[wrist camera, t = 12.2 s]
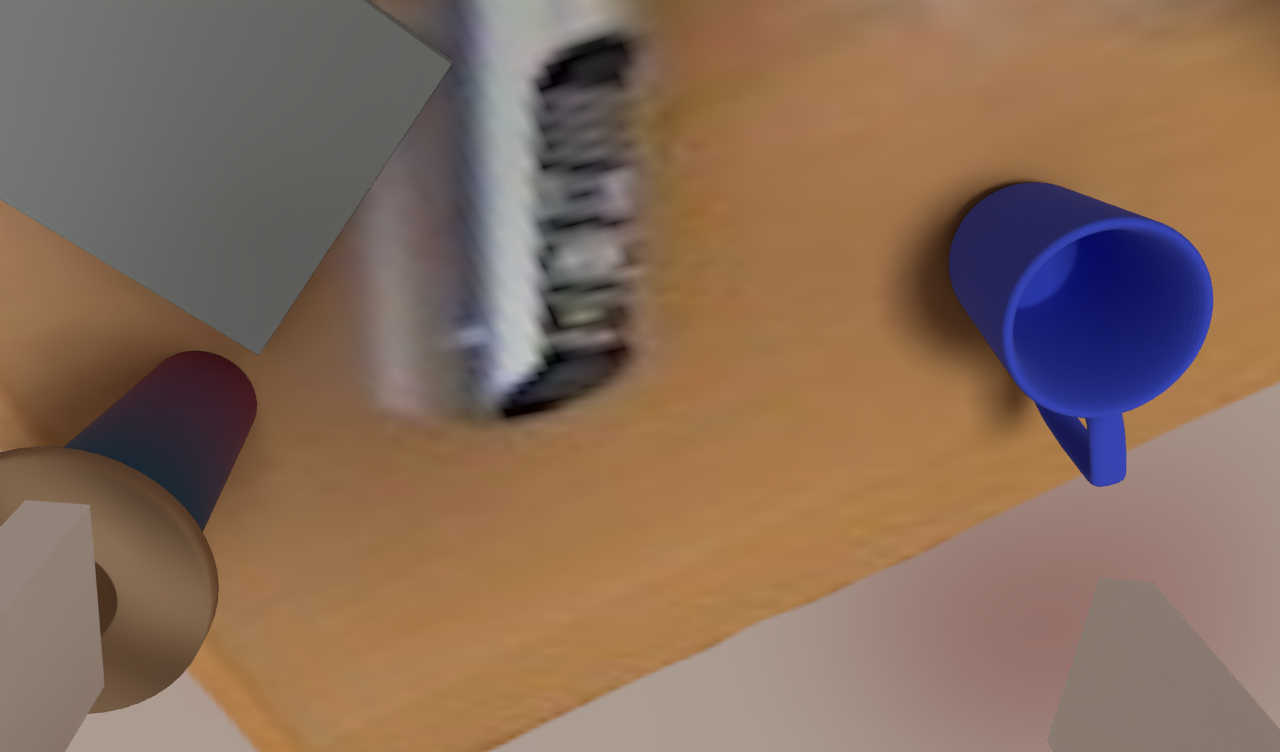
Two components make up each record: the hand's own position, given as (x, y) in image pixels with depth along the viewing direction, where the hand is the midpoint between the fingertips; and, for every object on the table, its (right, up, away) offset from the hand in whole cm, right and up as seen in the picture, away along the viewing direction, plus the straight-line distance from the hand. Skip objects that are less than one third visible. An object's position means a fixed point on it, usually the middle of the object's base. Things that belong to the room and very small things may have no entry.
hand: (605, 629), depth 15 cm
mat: (-19, +15, +32) cm, 40 cm away
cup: (-20, +2, +38) cm, 43 cm away
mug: (+18, +8, +38) cm, 43 cm away
